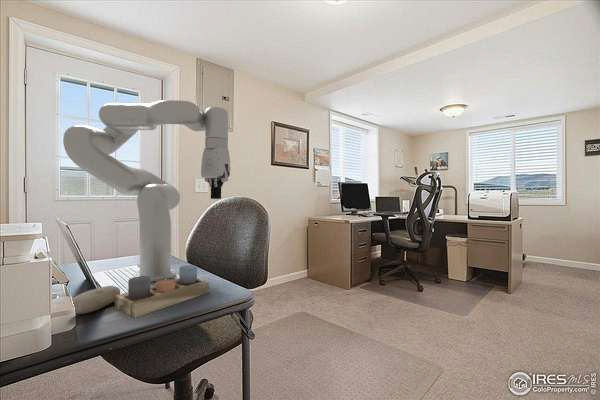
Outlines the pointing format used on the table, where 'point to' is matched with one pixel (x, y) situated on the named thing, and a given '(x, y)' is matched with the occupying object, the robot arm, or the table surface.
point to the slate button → (188, 274)
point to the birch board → (160, 298)
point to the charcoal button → (139, 287)
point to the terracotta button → (165, 286)
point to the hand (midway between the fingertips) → (215, 198)
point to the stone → (95, 299)
